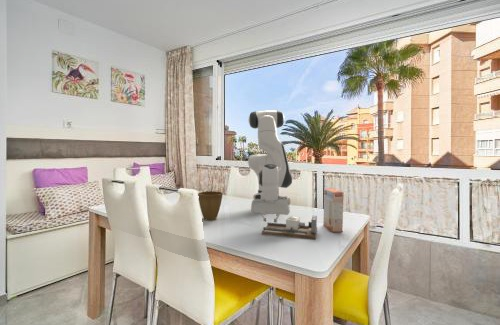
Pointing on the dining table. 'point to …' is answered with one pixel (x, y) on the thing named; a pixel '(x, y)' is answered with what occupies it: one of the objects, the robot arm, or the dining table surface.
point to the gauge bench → (289, 234)
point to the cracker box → (333, 210)
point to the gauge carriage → (293, 223)
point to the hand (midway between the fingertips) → (270, 221)
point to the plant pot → (210, 204)
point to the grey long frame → (311, 225)
